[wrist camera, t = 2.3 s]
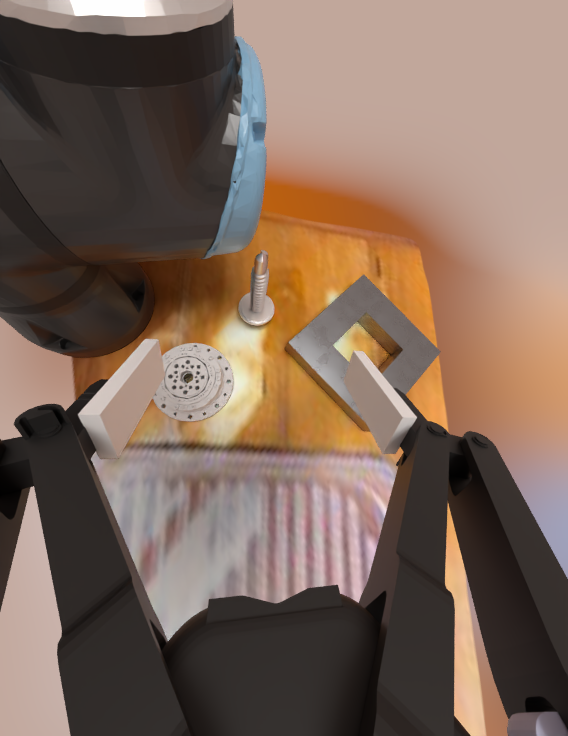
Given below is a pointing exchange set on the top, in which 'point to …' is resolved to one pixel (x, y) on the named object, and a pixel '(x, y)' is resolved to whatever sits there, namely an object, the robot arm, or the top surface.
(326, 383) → the socket plate
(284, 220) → the top surface
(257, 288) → the screw
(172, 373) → the mechanical component
